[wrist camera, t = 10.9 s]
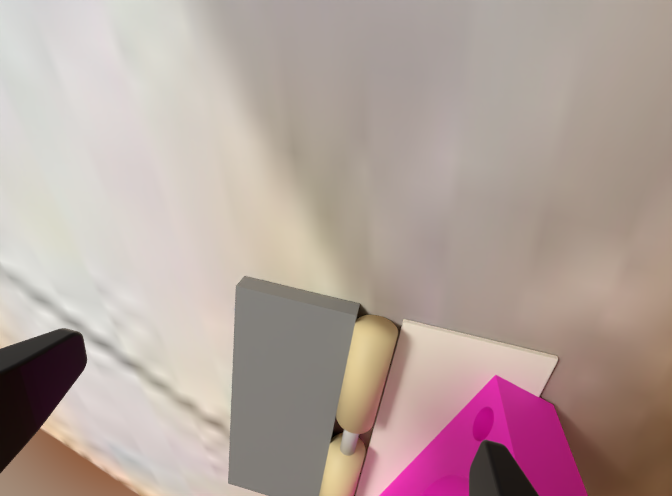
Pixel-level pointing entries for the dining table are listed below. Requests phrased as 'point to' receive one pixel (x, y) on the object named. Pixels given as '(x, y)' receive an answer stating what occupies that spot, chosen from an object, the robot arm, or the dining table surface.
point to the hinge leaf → (303, 389)
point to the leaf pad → (437, 392)
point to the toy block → (499, 426)
